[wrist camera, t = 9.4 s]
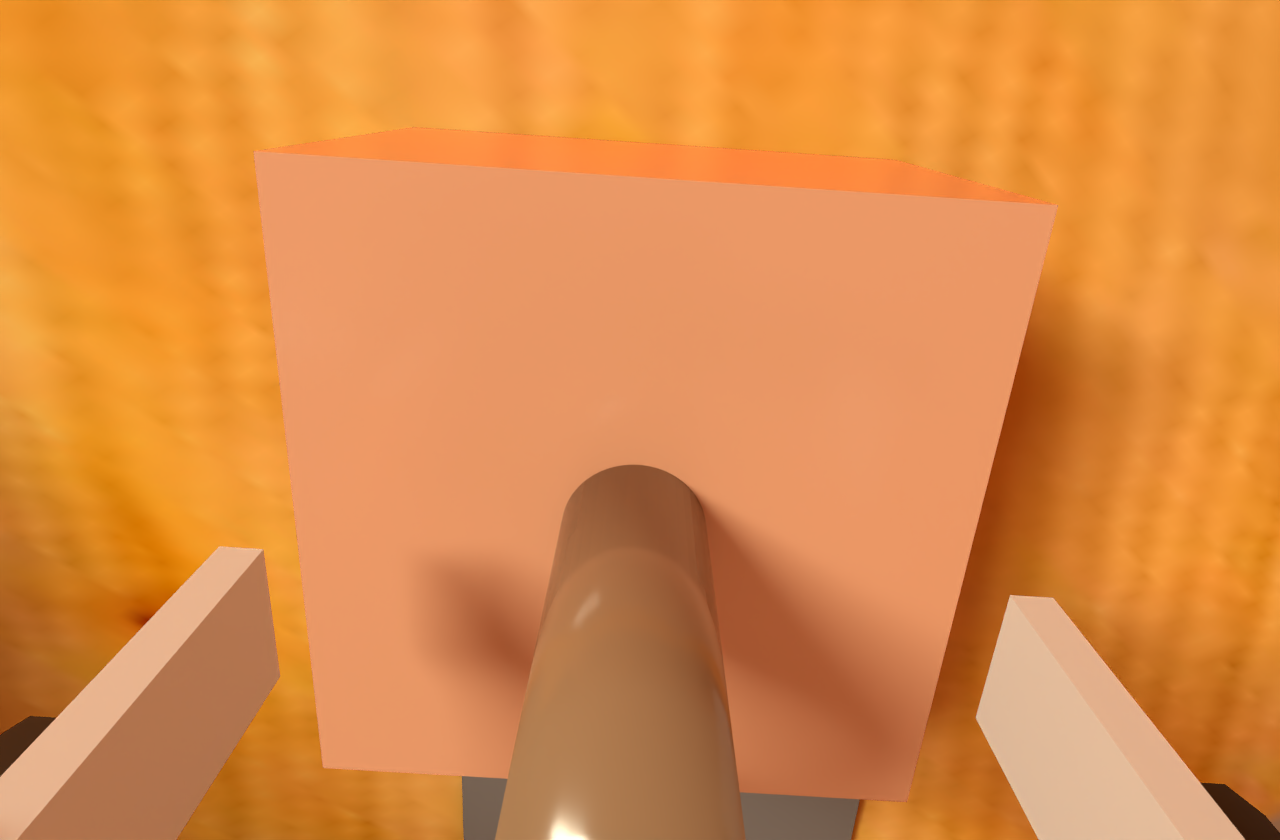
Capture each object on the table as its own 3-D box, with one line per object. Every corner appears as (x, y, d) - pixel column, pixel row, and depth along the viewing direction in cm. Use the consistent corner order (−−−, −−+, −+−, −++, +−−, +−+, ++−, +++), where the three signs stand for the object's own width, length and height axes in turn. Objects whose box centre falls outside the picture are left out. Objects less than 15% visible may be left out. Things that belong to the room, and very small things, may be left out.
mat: (467, 883, 37) (465, 893, 37) (459, 570, 31) (456, 578, 30) (832, 904, 38) (834, 914, 37) (899, 597, 31) (902, 605, 31)
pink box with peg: (430, 546, 31) (90, 1246, 12) (413, 127, 25) (-280, 230, 6) (823, 570, 31) (1085, 1297, 12) (895, 160, 25) (1588, 353, 7)
